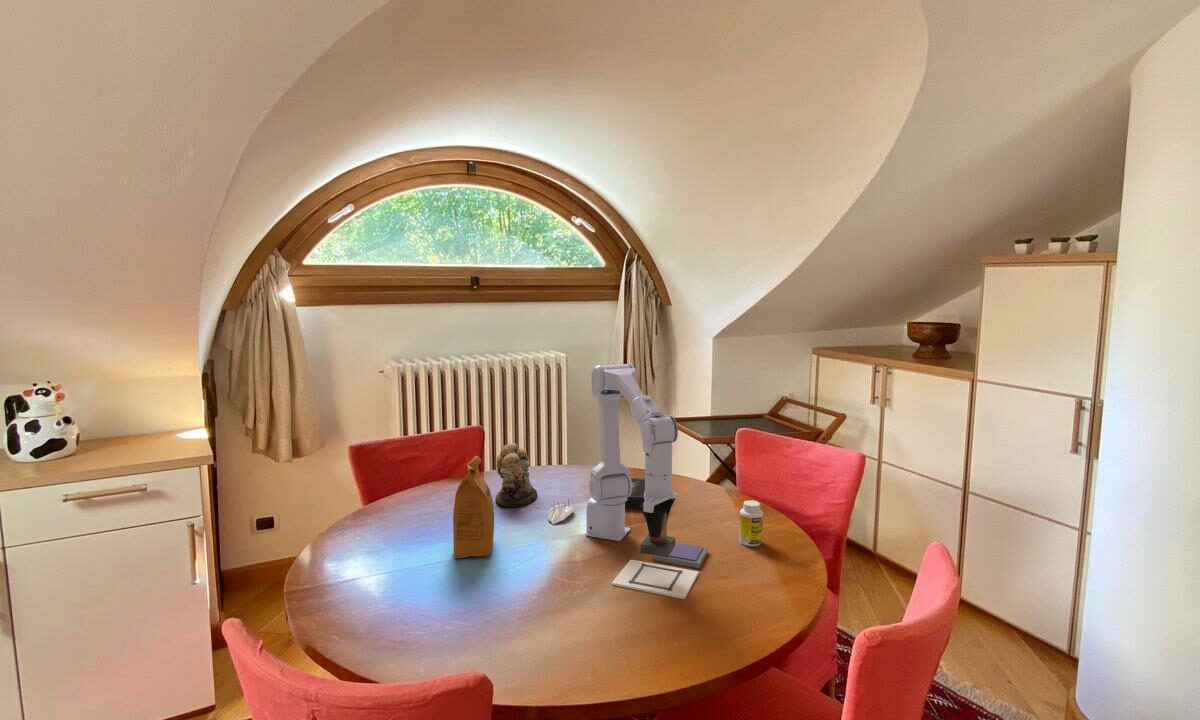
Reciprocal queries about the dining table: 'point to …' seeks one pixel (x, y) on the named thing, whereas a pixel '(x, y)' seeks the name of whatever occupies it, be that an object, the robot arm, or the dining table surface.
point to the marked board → (656, 578)
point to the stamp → (659, 543)
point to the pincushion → (560, 512)
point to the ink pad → (685, 555)
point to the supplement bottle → (751, 524)
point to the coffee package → (473, 515)
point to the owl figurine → (514, 477)
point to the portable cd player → (636, 494)
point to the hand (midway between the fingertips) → (657, 532)
